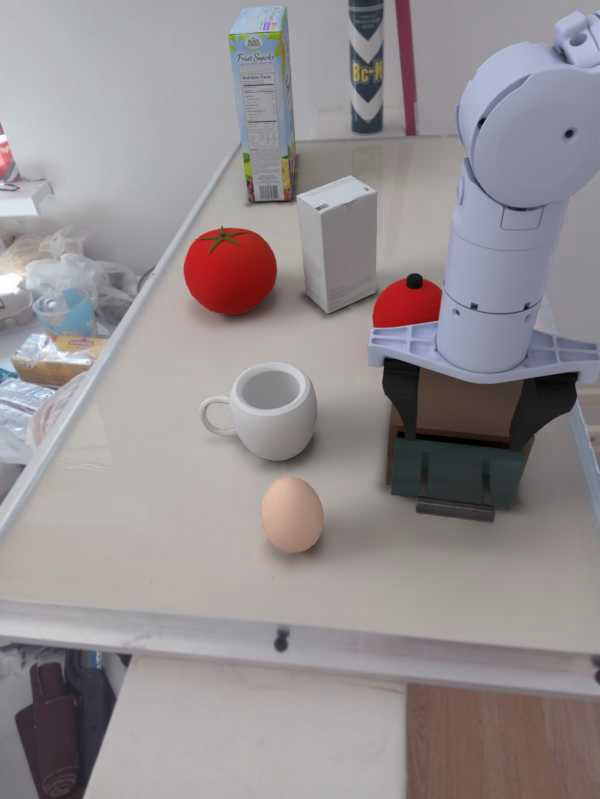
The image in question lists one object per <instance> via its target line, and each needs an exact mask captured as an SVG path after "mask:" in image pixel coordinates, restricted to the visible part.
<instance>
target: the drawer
mask: <svg viewBox="0 0 600 799" xmlns="http://www.w3.org/2000/svg"><path fill="white" fill-rule="evenodd" d="M525 464H526V465H527V463H526V455H525V451H522V450H521V452H519V453H517V452H511V451H510V443H505V442H496V441H486V440H476V439H467V438H457V437H448V436H438V435H428V434H419V433H416V437H415V441H407V440H406V434H405V432H404V438H399V437H395V443H394V455H393V469H392V483H391V485H390V495H391V496H397V497H405V498H412V499H415V508H414V509H415V514H418V515H426V516H433V517H441V518H448V519H455V520H456V519H457V520H464V521H469V522H470V521H471V522H478V523H486V524H494V522H495V517H496V509H498V510H505V511H508V510H509V511H510V509H511V507H512V504H513V501H514V500H513V498H514V499H515V497H514V495H515V496H516V494H517V492H516V490H517V491H518V489H517V487H518V488H519V486H518V484H519V485H520V483H519V481H520V482H521V480H520V478H521V479H522V477H521V475H522V476H523V474H522V472H523V469H524V467H525V468H526V466H525ZM524 470H525V469H524ZM523 473H524V472H523ZM515 493H516V494H515Z"/></svg>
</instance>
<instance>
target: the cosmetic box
mask: <svg viewBox="0 0 600 799" xmlns="http://www.w3.org/2000/svg"><path fill="white" fill-rule="evenodd" d="M378 194H379V192H378V191H377V190H376V189H374V188H372V187H371V186H369V185H368V184H366V183H364V182H362V181H361V180H359V179H358V178H356V177H355V176H353V175H351V174H349V175H347V176H345V177H342V178H339V179H336V180H335V181H331V182H329V183H326V184H323V185H322V186H319V187H316V188H313V189H310V190H308V191H304V192H302V193H298V194H297V195H296V205H297V207H296V208H297V216H298V227H299V234H300V246H301V254H302V268H303V276H304V286H305V295H306V296H308V298H309V299H311V301H313V302H314V303H315V304H316V305H317V306H318V307H319V308H320V309H322V310H323V312H325V313H326V314H327V315H328V314H329V315H330V314H331V313H334V312H336V311H338V310H340V309H343V308H345V307H347V306H349V305H351V304H353V303H355V302H358V301H360V300H363V299H364V298H366V297H369V296H371V295H373V294H376V292H377V243H378V242H377V236H378V235H377V233H378Z"/></svg>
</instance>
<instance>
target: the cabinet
mask: <svg viewBox="0 0 600 799" xmlns="http://www.w3.org/2000/svg"><path fill="white" fill-rule="evenodd" d="M523 381H524V379H521V380H514V381H508V382H501V383H494V384H479V383H472V382H467V381H464V380H460V379H457V378H454V377H451V376H448V375H445V374H442V373H439V372H436V371H433V370H430V369H426V368H423V367H420V375H419V385H418V414H417V426H416V433H419V434H428V435H438V436H448V437H457V438H467V439H476V440H486V441H496V442H505V443H510V438H509V430H510V425H511V420H512V417H513V415H514V412H515V409H516V406H517V404H518V401H519V398H520V395H521V390H522V386H523ZM404 432H405V429H404V426H403V423H402V420H401V417H400V415H399V413H398V411H397V409H396V408H395V406H394V405H393V403H392V402H391V406H390V414H389V423H388V438H387V453H386V454H387V455H386V472H385V486H391V483H392V469H393V455H394V443H395V437H399V438H404ZM535 440H536V437H535V435H534V436H533V437H532V438H531V439H530V440H529V441H528V442H527V444H526V445H525V446H524V447H523V449H522V451H525V455H526V464H525V467H524V469H523V472H522V475H521V478H520V481H519V484H518V487H517V490H516V493H515V495H514V498H513V501H514V500H515V498H516V494H517V491H518V489H519V486H520V483H521V480H522V478H523V474H524V471H525V468H526V466H527V463H528V460H529V457H530V454H531V451H532V448H533V445H534V444H535Z"/></svg>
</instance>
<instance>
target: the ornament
mask: <svg viewBox="0 0 600 799" xmlns="http://www.w3.org/2000/svg"><path fill="white" fill-rule="evenodd" d="M442 290H443V289H442V288H441V287H440V286H439V285H437V284H436V283H434V282H432V281H430V280H429V279H426V278H424V277H423V276H422V275H421V274H420V273H417V272H413V273H410V274H408V275H407V276H406V277H405V278H401V279H399V280H396V281H394V282H392V283H390V284H389V285H388V286H386V288H384V289H383V290H382V291H381V293H380V294H379V295H378V297H377V299H376V300H375V303H374V305H373V310H372V317H371V318H372V319H371V320H372V328H393V327H401V326H408V325H415V324H421V323H428V322H435V321H439V314H440V306H441V298H442Z"/></svg>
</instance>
